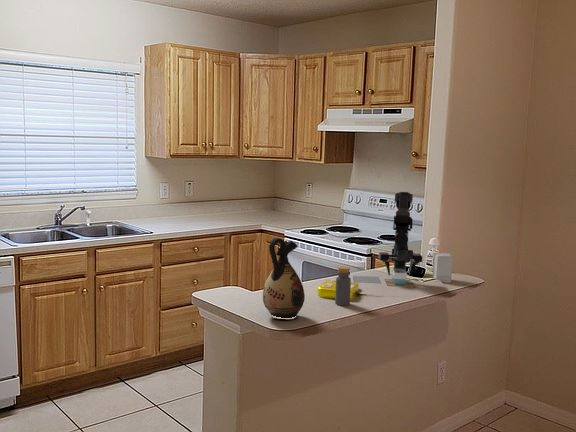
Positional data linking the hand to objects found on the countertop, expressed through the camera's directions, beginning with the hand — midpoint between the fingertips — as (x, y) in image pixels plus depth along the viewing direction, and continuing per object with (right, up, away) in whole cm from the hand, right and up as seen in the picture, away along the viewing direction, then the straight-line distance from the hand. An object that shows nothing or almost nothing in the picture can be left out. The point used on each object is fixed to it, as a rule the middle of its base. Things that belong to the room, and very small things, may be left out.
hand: (399, 275), depth 266 cm
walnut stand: (0, -5, +1) cm, 5 cm away
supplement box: (+22, -4, +13) cm, 26 cm away
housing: (0, -3, 0) cm, 3 cm away
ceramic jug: (-53, -11, -48) cm, 72 cm away
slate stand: (-14, -4, +5) cm, 15 cm away
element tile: (-29, -7, -15) cm, 33 cm away
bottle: (-28, -9, -29) cm, 41 cm away
